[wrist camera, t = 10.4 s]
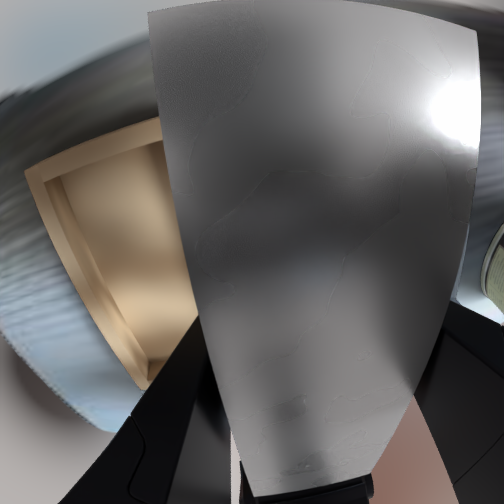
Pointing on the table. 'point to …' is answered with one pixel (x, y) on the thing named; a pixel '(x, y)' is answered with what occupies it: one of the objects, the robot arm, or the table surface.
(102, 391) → the table surface
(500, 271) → the coffee can
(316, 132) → the steel block
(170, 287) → the oak tray
